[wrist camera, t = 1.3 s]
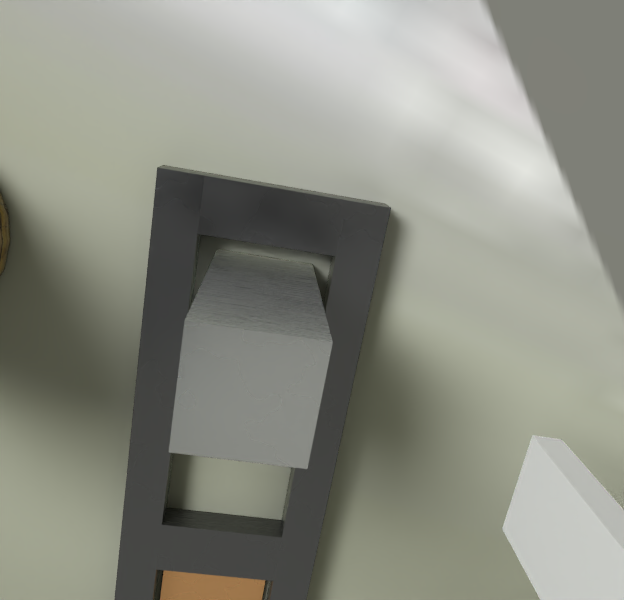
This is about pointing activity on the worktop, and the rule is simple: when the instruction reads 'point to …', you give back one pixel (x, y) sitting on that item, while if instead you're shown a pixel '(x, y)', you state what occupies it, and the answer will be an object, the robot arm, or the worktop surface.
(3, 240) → the wooden mug
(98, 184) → the worktop surface
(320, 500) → the dark grey slotted board
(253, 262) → the steel peg
